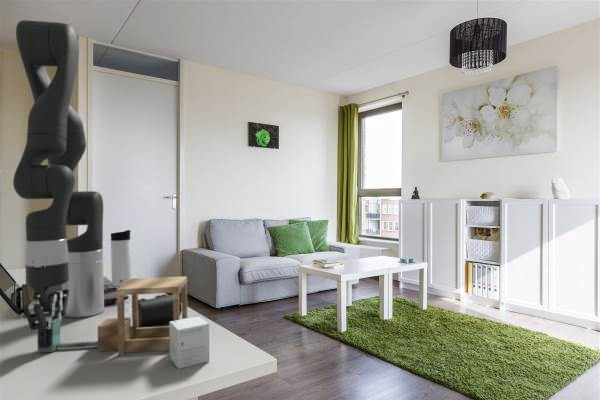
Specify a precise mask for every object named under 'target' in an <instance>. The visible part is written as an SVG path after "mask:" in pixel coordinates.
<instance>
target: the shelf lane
mask: <svg viewBox="0 0 600 400" xmlns="http://www.w3.org/2000/svg"><path fill="white" fill-rule="evenodd" d="M187 283H188V276H184V275H183V276H162V277H137V278H135V277H134V278H133V277H131V280H129V281H128V282H126V283H125V284H123V285H122V286H121V287H119V288H118V289H115V290H116V293H115V294H116V305H117V312H116V313H117V318H118V350H117V352H118V356H125V354H126V353H129V354H130V353H139V352H140V353H142V352H143V353H144V352H146V353H147V352H160V351H170V330H169V325H163V326H162V325H158V326H152V327H141V328H139V325H138V300H139V295H153V294H154V295H155V294H157V295H158V294H173V318H174V321H175V320H181V319H185V318H189V317H188V284H187ZM180 292H181V306H182V311H181V315H179V299H180ZM130 295H131V318H132V319H131V322H132V338H131V339H126V340H125V318H126V317H125V296H130ZM180 317H181V319H180Z"/></svg>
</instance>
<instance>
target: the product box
mask: <svg viewBox="0 0 600 400" xmlns="http://www.w3.org/2000/svg"><path fill="white" fill-rule="evenodd" d="M168 323H169V324H168V326H169V330H170V350H169V359H170V360H171V362H173V363H174V365H175V367H176V368H177V369H178V370H179V369H182V368H183V369H185V368H187V367H192V366H196V365H200V364H204V363H207V362H209V361H210V327H209V326H210V325H209V322H208V321H206V320H205V319H204V318H202V317H200V316H194V317H188V318H185V319H182V318H181V319H180V320H175V321H170V322H168Z"/></svg>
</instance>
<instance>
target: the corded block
mask: <svg viewBox="0 0 600 400" xmlns="http://www.w3.org/2000/svg"><path fill="white" fill-rule="evenodd" d="M45 320H46V318H45ZM131 322H132V319H131V317H125V340H126V339H132V333H131V332H132V331H131V330H132V329H131ZM36 331H37V333H36V334H37V340H38V330H36ZM51 335H52V345H51V346H50V347H49V348H39V344H38V343H37V353H39V354H40V353H53V352H55V351H57V350H59V349H71V348H72V349H73V348H89V347H90V348H91V347H97V351H98V352H100V351H101V352H102V351H103V352H104V351H118V317H117V318H107V319H105V320H103V321H102V322H101V323H100V324H98V326H97V340H96V341H95V340H94V341H92V340H91V341H79V342H78V341H76V342H61V322H60V318H52V322H51Z"/></svg>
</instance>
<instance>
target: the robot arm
mask: <svg viewBox="0 0 600 400" xmlns="http://www.w3.org/2000/svg"><path fill="white" fill-rule="evenodd" d="M15 35H16V36H15V37H16V41H17V42H16V43H17V49H18V50H19V51H18V52H19V54H20V58H21V61H22V65H23V68H24V72H25V75H26V78H27V80H28V83H29V87H30V91H31V95H32V97H33V103H34V104H32V107H31V108H30V111H29V114H28V117H27V118H28V119H27V129H26V143H25V148H24V150H23V153H22V156H21V158H20V161H19V162H18V165H17V167H16V170H15V171H14V175H13V182H12V184H13V189H14V192H15V193H16V194H17V195H18V196H19V197H20V198H22V199H24V200H52V202H51V205H50V206H49V207H47V208H44V209H40V210H37V211H36V210H34V211H31V212H29V213H28V214H27V215H26V217H25V234H26V235H25V236H26V238H25V239H26V241H25V242H26V243H25V251H24V255H25V256H24V257H25V258H24V259H25V260H24V262H25V267H24V268H25V286H27V287H28V288H32V289H33V294H32V302H31V303H30V304H25V305H24V312H25V316H26V318H27V322H28V325H29V329H30V330H31V331H35V330H36V331H37V330H38V339H37V345H38V344H39V348H49V347H50V346H51V345H52V335H51V322H52V318H60V323H62V319H63V318H64V317H68V318H85V317H86V318H87V317H90V316H91V317H92V316H95V315H98V314H102V312H104V311H105V290H104V289H105V288H104V287H105V282H104V252H103V251H104V249H103V247H104V245H103V241H104V238H103V237H104V235H103V234H104V230H103V229H104V226H103V224H104V199H103V196H102V194H101V193H100V192H99V191H93V190H92V191H91V190H89V191H87V190H86V191H84V190H83V191H74V189H75V184H76V180H75V179H76V178H75V175H74V171H75V169H76V168H77V166H78V165H79V163H80V162H81V160H82V157H83V156H84V154H85V152H86V148H87V140H86V134H85V129H84V124H83V121H82V118H81V117H80V115H79V114H78V113H77V111H76V110H75V109H74V108H73V107H72V106H71V105H70V102H71V99H72V94H73V89H74V85H75V81H76V79H75V78H76V75H77V74H76V73H77V70H78V64H79V63H78V62H79V57H80V56H79V55H80V46H79V40H78V37H77V34H76V31H75V30H74V28H73V27H72V26H71V25H70V24H69V23H65V22H55V21H53V22H52V21H40V20H27V19H24V20H23V19H22V20H20V21H19V22H17V24H16V29H15ZM46 67H56V71H55V74H54V76H53V78H52V80H51V78H50V76H49V75H48V71H47V69H46ZM44 161H47V164H43V162H44ZM67 226H86V231H85V232H83V233H82V234H80V235H77V236H75V237H72V238H70V239H67ZM45 319H46V320H45Z"/></svg>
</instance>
